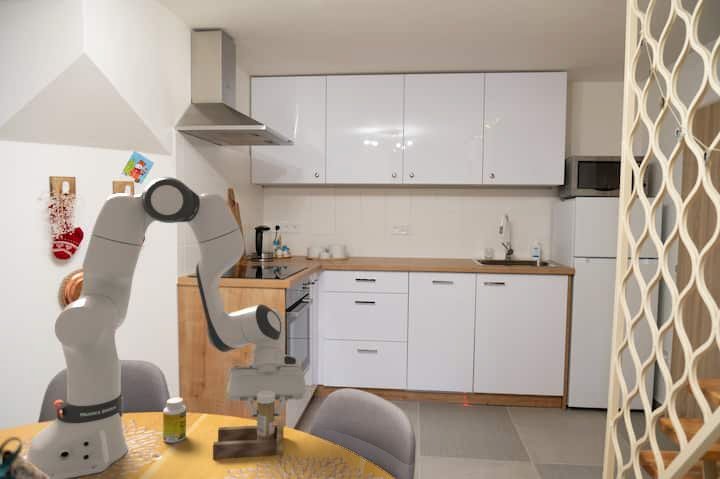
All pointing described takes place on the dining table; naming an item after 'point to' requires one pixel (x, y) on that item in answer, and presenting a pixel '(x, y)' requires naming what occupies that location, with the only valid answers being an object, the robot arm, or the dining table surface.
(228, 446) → the guide rail
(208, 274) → the robot arm
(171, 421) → the supplement bottle
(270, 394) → the spice jar
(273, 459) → the dining table surface
